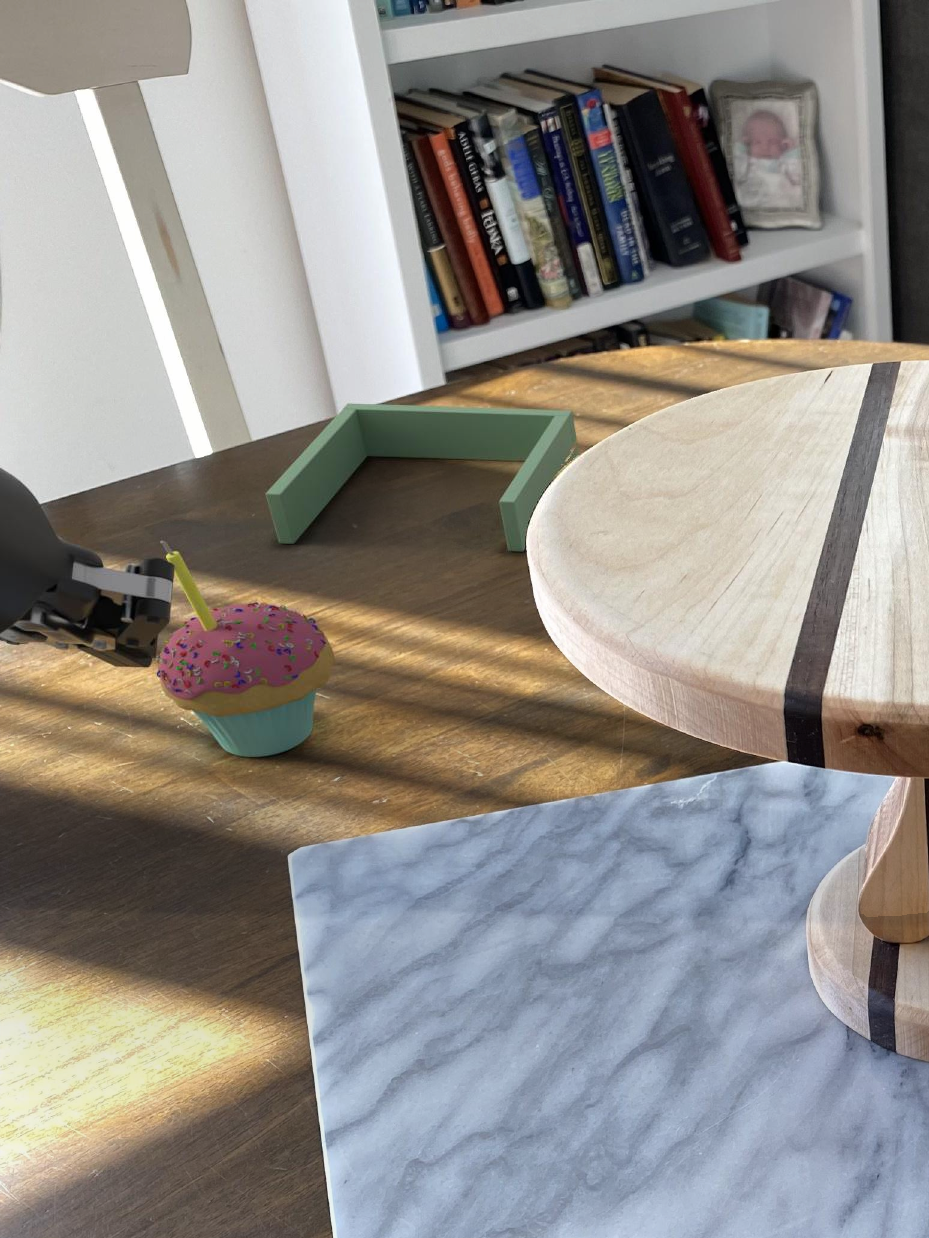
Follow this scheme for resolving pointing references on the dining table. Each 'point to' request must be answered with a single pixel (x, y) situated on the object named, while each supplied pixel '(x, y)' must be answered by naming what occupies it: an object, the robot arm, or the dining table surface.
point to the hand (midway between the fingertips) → (137, 646)
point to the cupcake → (245, 670)
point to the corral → (426, 455)
